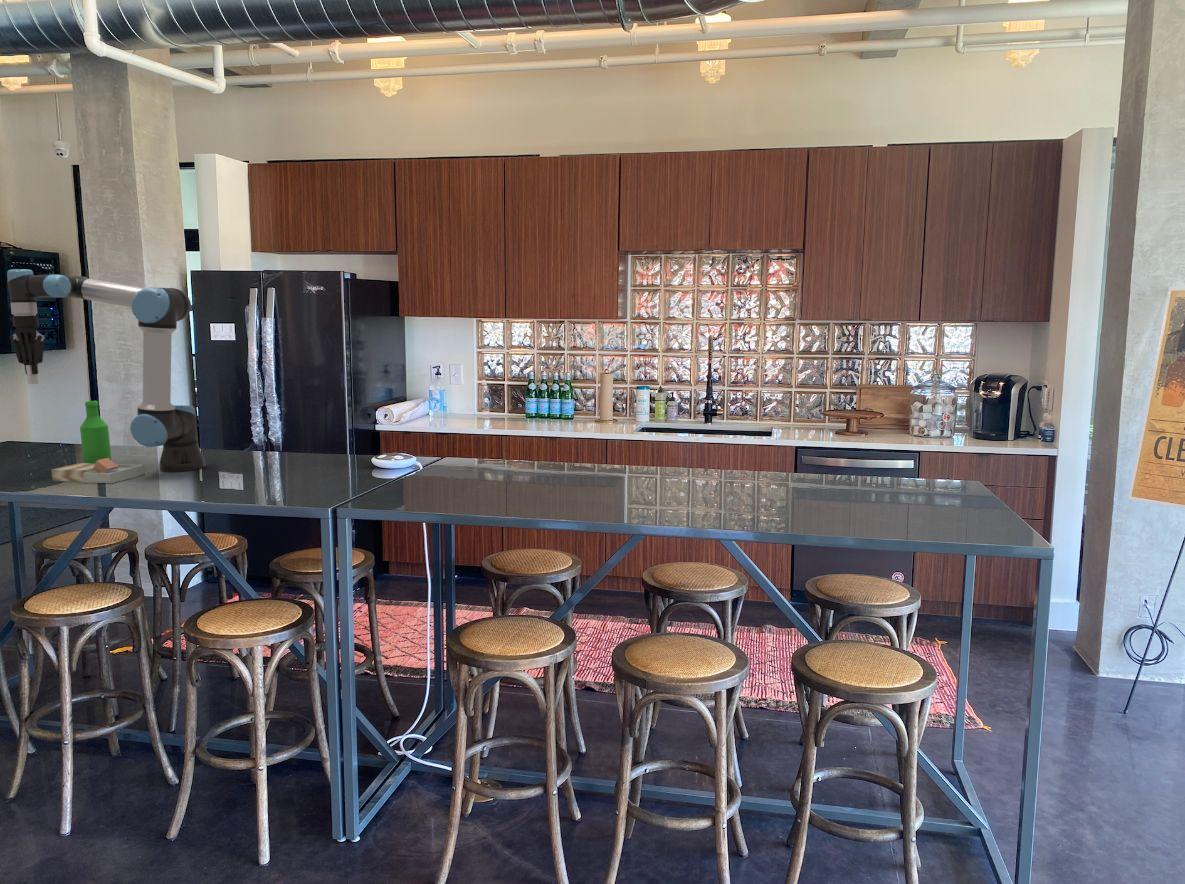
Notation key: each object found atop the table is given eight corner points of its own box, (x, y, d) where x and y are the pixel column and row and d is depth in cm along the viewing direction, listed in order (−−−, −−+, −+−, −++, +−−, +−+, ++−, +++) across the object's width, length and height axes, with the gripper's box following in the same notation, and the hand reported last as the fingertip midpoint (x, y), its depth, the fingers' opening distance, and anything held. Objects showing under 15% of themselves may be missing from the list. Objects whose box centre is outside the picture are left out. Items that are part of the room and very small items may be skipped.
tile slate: (118, 467, 296) (119, 476, 297) (107, 470, 292) (108, 478, 292) (130, 467, 296) (131, 476, 296) (120, 470, 291) (121, 479, 291)
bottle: (103, 471, 310) (95, 402, 306) (79, 471, 310) (71, 402, 306) (117, 466, 318) (110, 399, 314) (94, 466, 319) (86, 399, 315)
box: (144, 474, 301) (143, 464, 301) (111, 483, 286) (110, 473, 285) (119, 474, 303) (117, 464, 303) (84, 483, 288) (83, 473, 287)
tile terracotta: (115, 473, 297) (118, 466, 296) (104, 475, 292) (108, 468, 291) (104, 464, 297) (107, 457, 297) (93, 467, 293) (96, 460, 292)
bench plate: (114, 475, 302) (113, 463, 301) (88, 482, 290) (86, 470, 289) (79, 474, 304) (78, 463, 304) (52, 481, 293) (51, 469, 292)
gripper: (50, 314, 297) (57, 382, 301) (18, 315, 300) (26, 382, 304) (32, 315, 290) (40, 384, 294) (-1, 315, 293) (8, 384, 296)
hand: (33, 383), depth 299 cm, fingers closed
